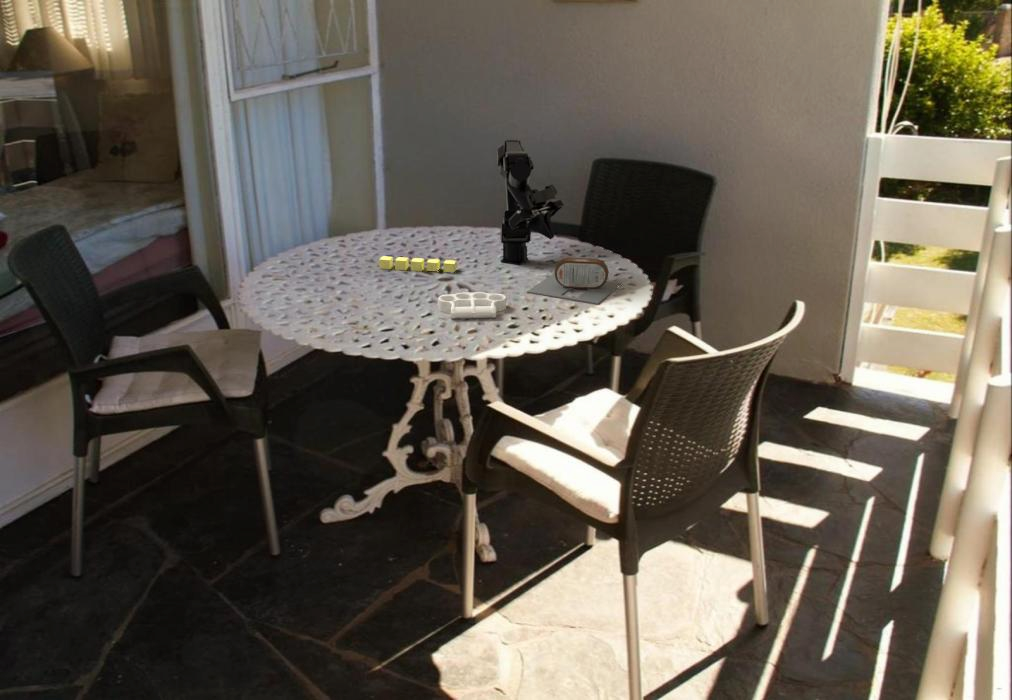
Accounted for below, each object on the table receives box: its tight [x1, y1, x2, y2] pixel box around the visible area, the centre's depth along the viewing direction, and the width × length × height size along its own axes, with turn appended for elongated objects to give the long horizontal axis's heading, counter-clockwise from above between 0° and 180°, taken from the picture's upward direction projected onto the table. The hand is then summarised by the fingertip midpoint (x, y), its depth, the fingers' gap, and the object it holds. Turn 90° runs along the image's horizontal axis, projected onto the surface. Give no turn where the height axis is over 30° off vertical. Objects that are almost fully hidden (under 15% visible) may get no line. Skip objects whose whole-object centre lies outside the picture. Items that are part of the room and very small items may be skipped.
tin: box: [554, 256, 609, 290], centre depth 281 cm, size 15×3×8 cm, turn 84°
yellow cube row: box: [378, 255, 458, 273], centre depth 300 cm, size 32×32×3 cm
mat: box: [526, 272, 623, 306], centre depth 283 cm, size 21×19×1 cm
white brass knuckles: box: [437, 291, 507, 320], centre depth 266 cm, size 3×18×15 cm
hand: (552, 238), depth 285 cm, fingers closed
